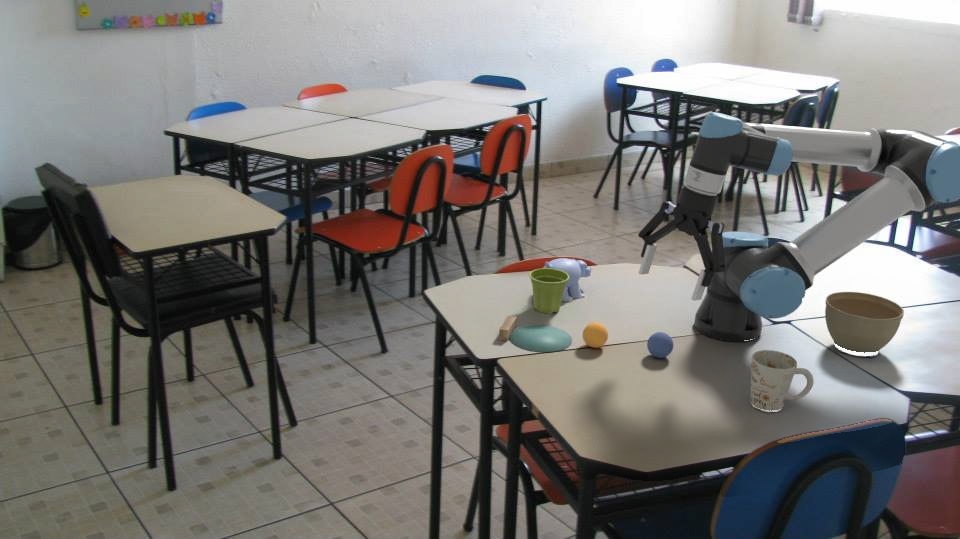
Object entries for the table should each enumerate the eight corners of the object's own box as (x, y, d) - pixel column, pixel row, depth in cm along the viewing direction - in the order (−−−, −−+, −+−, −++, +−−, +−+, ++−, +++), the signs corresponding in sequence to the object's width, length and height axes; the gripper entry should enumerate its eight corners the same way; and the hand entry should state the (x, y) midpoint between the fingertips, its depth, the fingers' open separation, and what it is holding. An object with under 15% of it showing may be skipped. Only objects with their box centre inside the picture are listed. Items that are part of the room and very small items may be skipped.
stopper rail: (516, 326, 207) (516, 316, 206) (507, 340, 200) (508, 330, 199) (507, 325, 208) (508, 315, 207) (498, 339, 200) (499, 329, 199)
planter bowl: (890, 341, 209) (900, 297, 206) (897, 370, 195) (908, 324, 191) (816, 329, 214) (824, 286, 210) (818, 357, 199) (827, 311, 196)
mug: (738, 395, 181) (745, 349, 177) (799, 395, 182) (807, 350, 179) (753, 416, 173) (761, 369, 170) (816, 416, 174) (826, 369, 171)
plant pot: (563, 318, 213) (566, 284, 210) (524, 314, 214) (526, 279, 211) (568, 304, 221) (571, 270, 218) (530, 299, 223) (532, 266, 220)
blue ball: (672, 353, 198) (675, 330, 196) (670, 363, 193) (673, 340, 191) (647, 349, 199) (649, 326, 197) (644, 359, 194) (647, 336, 192)
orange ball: (608, 343, 201) (610, 320, 199) (604, 353, 196) (607, 330, 194) (583, 339, 202) (585, 316, 200) (579, 349, 197) (581, 326, 195)
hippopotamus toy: (601, 292, 230) (604, 257, 226) (556, 304, 221) (559, 268, 217) (572, 279, 237) (575, 245, 234) (528, 290, 229) (530, 254, 225)
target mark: (576, 330, 207) (576, 329, 207) (565, 356, 194) (566, 355, 194) (516, 321, 210) (516, 320, 210) (502, 346, 197) (502, 345, 197)
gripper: (641, 169, 189) (612, 264, 195) (745, 211, 173) (710, 312, 180) (661, 170, 194) (632, 262, 201) (763, 210, 179) (729, 309, 185)
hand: (669, 286), depth 190 cm, fingers open, 13 cm apart
